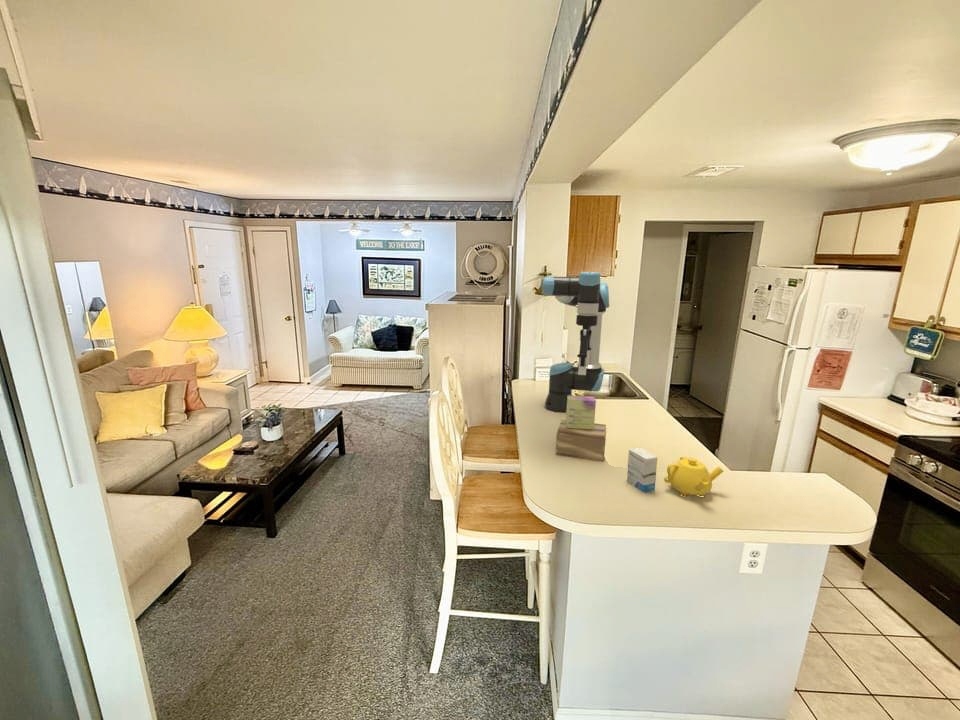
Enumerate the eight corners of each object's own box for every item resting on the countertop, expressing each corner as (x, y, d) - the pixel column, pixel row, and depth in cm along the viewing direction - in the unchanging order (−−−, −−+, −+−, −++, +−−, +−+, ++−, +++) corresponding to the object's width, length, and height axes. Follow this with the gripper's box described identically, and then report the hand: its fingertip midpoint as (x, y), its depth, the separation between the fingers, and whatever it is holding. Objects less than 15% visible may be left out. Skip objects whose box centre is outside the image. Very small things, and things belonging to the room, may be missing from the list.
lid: (561, 421, 171) (561, 419, 171) (605, 426, 166) (605, 424, 166) (557, 432, 160) (557, 430, 159) (604, 438, 154) (605, 435, 154)
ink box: (655, 490, 136) (659, 457, 133) (642, 493, 134) (646, 459, 132) (637, 478, 144) (640, 446, 141) (625, 480, 142) (628, 448, 140)
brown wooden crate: (559, 442, 173) (560, 422, 171) (604, 448, 168) (606, 427, 166) (555, 454, 162) (556, 432, 160) (603, 461, 156) (605, 438, 155)
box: (592, 424, 165) (594, 396, 163) (594, 430, 160) (596, 400, 157) (565, 423, 167) (567, 394, 164) (566, 428, 161) (568, 399, 159)
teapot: (703, 508, 126) (708, 474, 124) (659, 490, 136) (663, 458, 134) (721, 492, 135) (726, 460, 133) (678, 477, 145) (682, 447, 143)
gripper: (579, 311, 167) (576, 363, 171) (573, 317, 143) (569, 377, 148) (599, 312, 164) (595, 364, 169) (596, 318, 141) (591, 379, 145)
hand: (583, 370), depth 158 cm, fingers open, 13 cm apart
